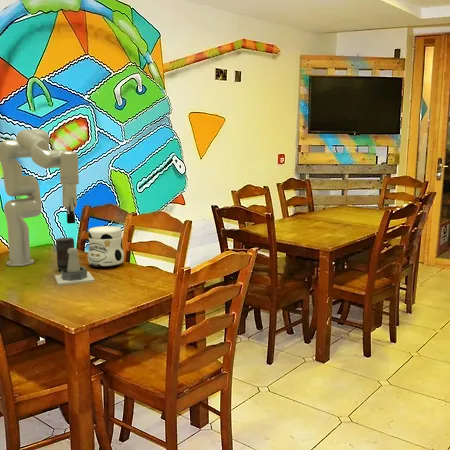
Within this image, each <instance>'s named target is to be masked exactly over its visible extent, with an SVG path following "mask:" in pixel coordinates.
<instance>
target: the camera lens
mask: <svg viewBox="0 0 450 450" xmlns="http://www.w3.org/2000/svg"><path fill="white" fill-rule="evenodd" d="M55 240H56V242H55V248H56V265H57V268H58V271H59V272H60V273H61V269H64V268H67V267H68V261H69V254H68V249H69V248H75V240H74V238H73V237H59V238H57V239H55Z"/></svg>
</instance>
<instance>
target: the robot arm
mask: <svg viewBox="0 0 450 450" xmlns="http://www.w3.org/2000/svg"><path fill="white" fill-rule="evenodd" d="M49 135H50V134H48V132H47V131H46V130H45V129H44V130H43V129H28V128H27V129H22V130H20V131H18V133H17V134H16V136H15V137H16V138H15V139H7V140H6V139H5V140H3V141H2V142H1V141H0V165H1V168H2V169H1V170H2V175H3V177H2V178H3V183H4V190H5V193H6V195H7V196H9V197H24V196H26V197H27V198H15V199H11V200H8V201H6V202H5V203H4V205H3V212H4V216H5V219H6V226H7V239H8V252H9V260H7V261H6V266H10V267H25V266H29V265H33V264H34V263H35V259H33V258H31V245H30V232H29V231H30V228H29V226H28V223H26V221H25V220H24V219H27V218H35V217H39V216H40V215H41V213H42V209H43V207H42V199H41V191H40V190H41V189H40V183H39V181H38V180H37V178H36V177H35V176H33V175H23V169H22V166H21V164H20V162H19V161H18V160H17V158H20V159H21V158H22V159H24V158H26V159H27V158H31V160H32V162H33V163H34V164H36V165H37V166H39V167H40V168H43V169H55V168H56V169H57V168H58V169H59V178H60V181H59V182H60V185H62V206H63V207H64V208H65V209H66V223H67V224H69V225H70V224H76V214H75V212H76V211H75V210H76V209H75V208H77V205H78V196H77V195H78V193H77V185H80V184H79V183H80V182H79V181H80V179H79V178H80V176H79V155H78V153H77V152H76V151H71V150H66V149H50V141H51V139H50V136H49Z"/></svg>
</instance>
